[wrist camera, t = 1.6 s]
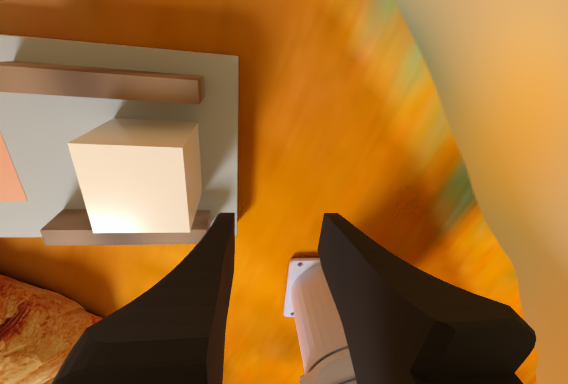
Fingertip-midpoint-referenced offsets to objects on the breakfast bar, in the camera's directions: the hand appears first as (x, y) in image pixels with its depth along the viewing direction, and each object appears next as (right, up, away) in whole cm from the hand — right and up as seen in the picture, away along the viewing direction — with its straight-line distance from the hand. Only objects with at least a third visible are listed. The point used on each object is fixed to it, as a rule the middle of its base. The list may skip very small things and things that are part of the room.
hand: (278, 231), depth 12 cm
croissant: (-23, -11, +15) cm, 29 cm away
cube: (-8, +4, +6) cm, 11 cm away
